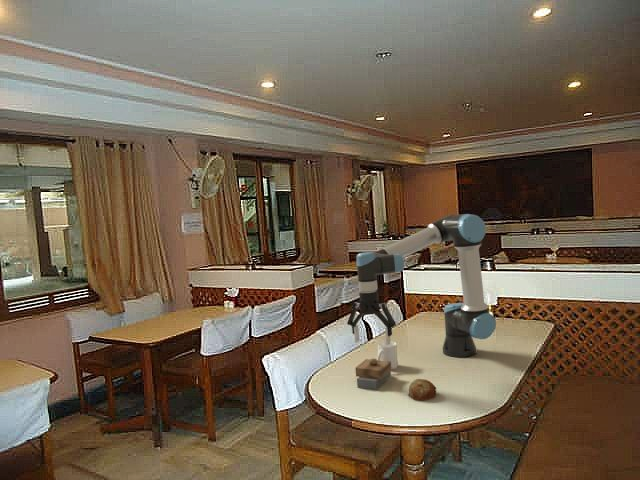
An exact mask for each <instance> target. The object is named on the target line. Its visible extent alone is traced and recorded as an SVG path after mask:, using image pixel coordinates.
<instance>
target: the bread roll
mask: <svg viewBox="0 0 640 480" xmlns="http://www.w3.org/2000/svg"><path fill="white" fill-rule="evenodd" d="M407 396H409V397H410V398H411V399H413V400H414V401H419V402H420V401H421V402H422V401H424V402H425V401H429V400H432V399H434V398H435V397H436V396H437V387H436V386H435V385H434V384H433V382H431V381H430V380H428V379H422V378H416V379H414V380H413V381H411V383H410V385H408V394H407Z"/></svg>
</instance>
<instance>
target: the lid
mask: <svg viewBox="0 0 640 480" xmlns="http://www.w3.org/2000/svg"><path fill="white" fill-rule="evenodd" d="M391 371H392V370H391V362H390V361H380V360H377V358H370V359H369V358H368V359H367V358H366V359H364V360H363V361H362V362H360V363H359V364H358V365H357V366H356V367H355V377H357V378H359V377H366V378H375V379H382V378H384V377H385V376H386V375H387V374H388V373H389V372H390V373H391Z"/></svg>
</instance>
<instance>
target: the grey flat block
mask: <svg viewBox="0 0 640 480" xmlns="http://www.w3.org/2000/svg"><path fill="white" fill-rule="evenodd" d="M391 373H392V372H391V371H390V372H389V373H388V374H387V375H386V376H385V377H384V378H382V379H375V378H366V377H357V378H356V385H357V388H358V389H366V390H373V391H377V390H378V389H379V388H380V387H381V386H382V385H383V384H384V383H385V382H386V381H387V380H388V379H389V378H390V377H391V376H392V375H391Z"/></svg>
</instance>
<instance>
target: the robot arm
mask: <svg viewBox="0 0 640 480" xmlns="http://www.w3.org/2000/svg"><path fill="white" fill-rule="evenodd" d="M486 233H487V228H486V224H485V221H484V220H483V219H482V218H481V217H480V216H479V215H476V214H470V213H464V214H463V213H462V214H449V215H446V216H444V217H442V218H440V219H438V220H436V221H434V222H431V223H429V224H428V225H427V227H426V228H424V229H422V230H420V231H417V232H415V233H413V234H410V235H409V236H406V237H405V238H402V239H400V240H398V241H396V242H394V243H392V244H389V245H388V246H385V247H383V248H381V249H379V250H376V251H370V252H369V251H366V252H360V253H358V254H356V270H357V280H358V291H359V292H358V294H359V295H358V296H359V302H358V301H355V302H353V304H352V310H351V312H350V314H349V317H348V320H347V323H346V324H347V325H348V326H351V332H352V334H353V335H354V343H355V344H356V343H357V344H358V342H360V333H359V332H360V331H359V330H360V329H359V325H357V324H358V323H359V321H360V320H361V319H362V317H363V316H364V315H375V316H376V317H378V320H380V321H381V322H382V324H384V326H385V328H384V329H385V333H384V334H385V342H386V345H389V344H390V343H391V342H392V341H391V336H392V335H393V331H392V330H393V329H392V328H394V327H395V326H396V325H397V323H396V321H395V318H393V316H392V314H391V312H390V310H389V309H388V304H387V302H383V303H380V301H379V291H378V277H377V276H379V275H387V274H395V273H400V272H403V270H404V268H405V261H404V258H405V257H408V256H410V255H412V254H415V253H417V252H418V251H421V250H423V249H425V248H427V247H429V246H432V245H433V244H436V245H438V244H441V243H444V242H449V241H452V242H453V247H454V248H455V249H456V250H457V253H458V254H457V255H458V263H459V273H460V281H461V289H462V290H461V291H462V299H463V302H455V303H449V304H446V305H445V306H444V310H443V311H444V312H443V314H444V327H445V328H444V329H445V338H444V342H443V343H442V353H443V354H444V355H445V356H448V357H454V358H467V357H473V356H475V355H476V354H477V345H476V343H475V342H474V339H479V340H486V339H488V338H490V337H491V336H492V335H493V333H494V332H495V330H496V327H497V326H496V325H497V321H496V318H495V317H494V315H492V314H491V313H490V306H489V305H488V304H487V303H486V302H485V295H484V293H485V292H484V286H483V277H482V268H481V267H482V266H481V259H480V258H481V257H480V247H481V246H482V244H483V243H482V240H483V239H484V237H485V236H486ZM358 308H360V312H358V315H357V316H356V314H357V311H358ZM380 309H381V310H382V311H383V313H384V314H383V313H382V311H381V310H380ZM355 317H356V318H355ZM354 318H355V319H354Z"/></svg>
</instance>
